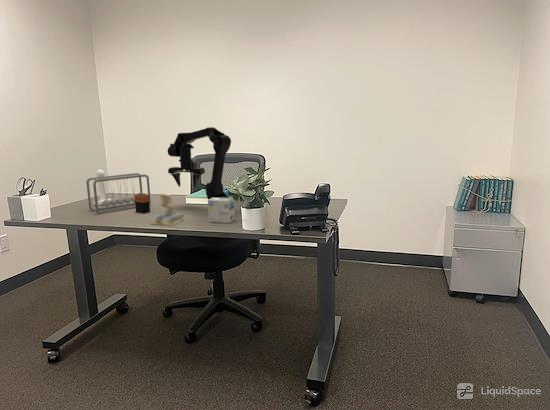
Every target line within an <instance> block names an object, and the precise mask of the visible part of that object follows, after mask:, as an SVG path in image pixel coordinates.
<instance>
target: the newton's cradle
mask: <svg viewBox="0 0 550 410" xmlns="http://www.w3.org/2000/svg"><path fill="white" fill-rule="evenodd" d="M144 177H145V178H146V187H147V195H149V204H150V205H151V189H150V177H149V175H147V174H140V173H139V172H135V173H126V174H125V173H124V174H116V175H107V176H106V175H104V177H98V176H97V177H89V178H87V180H86V191H87V199H88V200H87V201H88V208H89V210H90V211H91V212H96V213H97V214H98V215H103V214H108V213H114V212H121V211H125V210H126V211H127V210H132V209H133V210H134V209H136V208H135V195H136V193H135V189H136V188H135V186H131V188H132V190H133V191H132V192H133V195H132V196H131V197H130V196H128V193H125V194H126V195H125V197H124V198H123V197H122V195H121V194H122V193H121V192H122V191H121V189H122V187H121V184H119V183H118V181H120V180H128V179H130V180H132V179H135V178H138V181H139V182H138V183H139V193H141V194H142V193H143V185H142V184H143V183H142V178H144ZM90 181H93V183H92V184H93V194H94V202H95V206H94V207H95V208H93V207H92V203H91V202H92V199H91V191H90V189H91V188H90ZM101 181H102V182H103V181H104V182H108V181H109V184H110V186H112V185H111V181H117V182H116V183H117V185H119V187H120V189H119V187H117V190H118V191H119V193H118V194H119V197H118V198H115V197H114V190H113V188H110V190H111V192H112V194H111V195H112V196H111V197H112V198H110V199H111V200H110V201H109V200H107V199H108V198H107V196H106V197H105V199H106V200H104V201H103V205H102V206H104V207H99V205H98V202H97V201H98V195H97V194H98V193H97V185H96V184H97V183H99V182H101ZM123 182H124V185H126V183H125V181H123ZM130 183H131V185H133V182H132V181H131V182H130ZM103 187H105V184H104V185H103ZM133 187H134V189H133ZM124 188H125V189H124V190H125V191H127V187H124ZM104 193H106V190H105V191H104ZM117 204H118V205H117ZM122 207H123V208H122ZM115 208H116V209H115Z"/></svg>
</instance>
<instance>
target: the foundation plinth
mask: <svg viewBox="0 0 550 410" xmlns="http://www.w3.org/2000/svg"><path fill="white" fill-rule="evenodd" d="M172 213H173V216H167V217H162V216H161V213H159V214H156V215H154V216H152V217H149V223H150V225H154V224H157V226H168V225H170V227H171V226H174V225H177V224H178V223H180V222H182V221H185V219H184V217H185V216H184V213H177V212H172Z"/></svg>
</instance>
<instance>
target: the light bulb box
mask: <svg viewBox="0 0 550 410" xmlns="http://www.w3.org/2000/svg"><path fill="white" fill-rule="evenodd" d="M233 198H234V197H228V198H219V197H218V198H214V197H213V198H211V199H208V198H207V207H208V208H207V211H208V222H209V223H222V224H225V223H226V224H227V223H228V224H230V223H232V222H233V221H234V220H236V219H235V201H234V199H233Z"/></svg>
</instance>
